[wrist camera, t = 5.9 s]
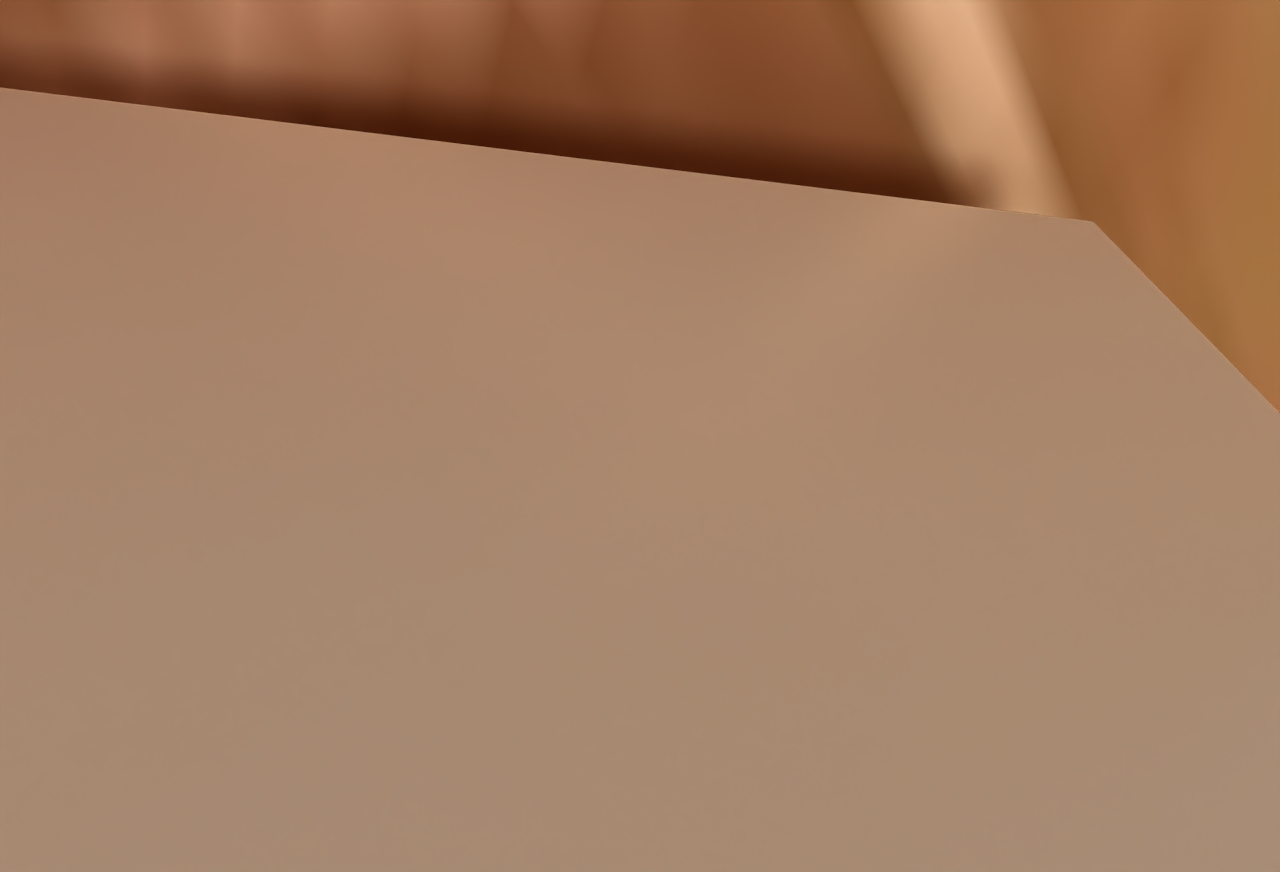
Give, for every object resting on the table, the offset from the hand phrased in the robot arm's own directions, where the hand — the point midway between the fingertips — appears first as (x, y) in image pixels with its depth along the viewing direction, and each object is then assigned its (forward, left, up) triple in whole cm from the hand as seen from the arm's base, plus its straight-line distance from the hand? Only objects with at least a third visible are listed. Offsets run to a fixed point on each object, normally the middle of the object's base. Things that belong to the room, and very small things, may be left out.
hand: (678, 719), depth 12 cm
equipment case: (-2, +4, -5) cm, 7 cm away
